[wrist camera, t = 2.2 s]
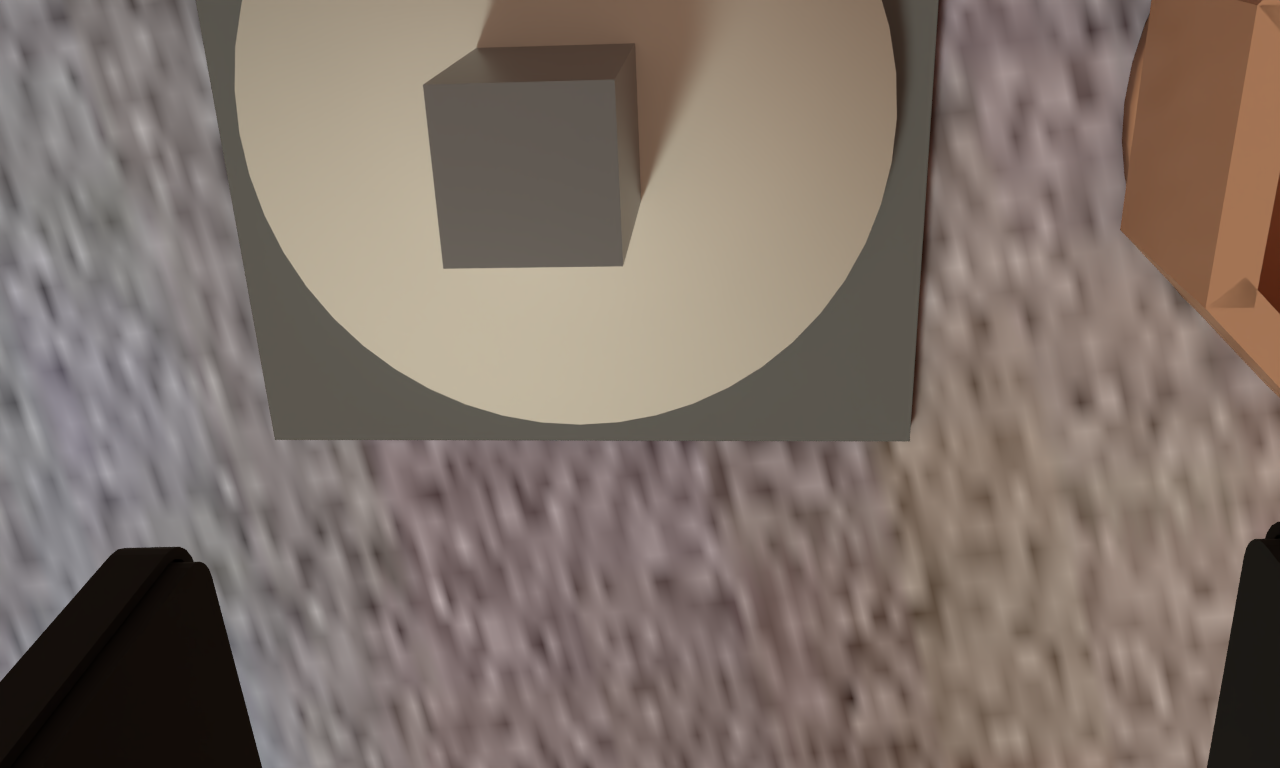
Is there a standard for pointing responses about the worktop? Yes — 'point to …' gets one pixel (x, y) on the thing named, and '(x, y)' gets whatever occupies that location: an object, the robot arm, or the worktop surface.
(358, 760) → the worktop surface
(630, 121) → the lid
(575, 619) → the worktop surface
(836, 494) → the worktop surface
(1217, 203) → the bowl
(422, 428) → the mat
